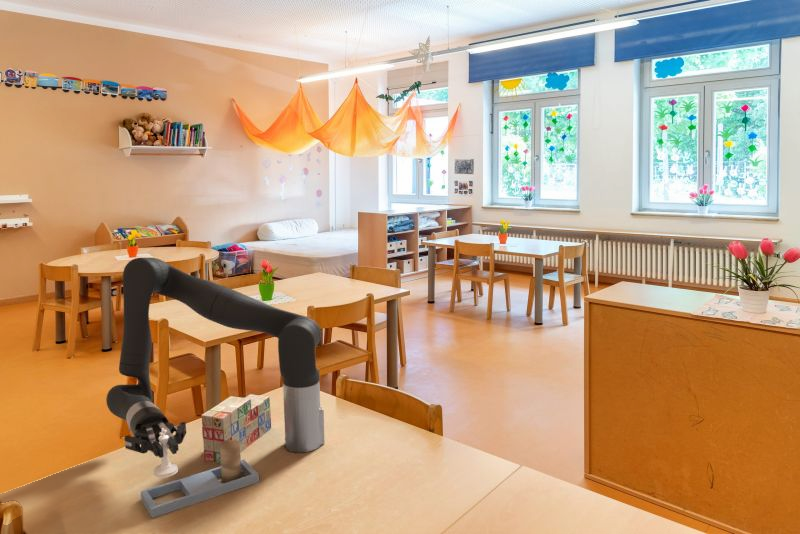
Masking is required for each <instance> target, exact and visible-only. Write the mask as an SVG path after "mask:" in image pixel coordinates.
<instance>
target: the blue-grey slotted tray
mask: <svg viewBox="0 0 800 534" xmlns="http://www.w3.org/2000/svg"><path fill="white" fill-rule="evenodd" d="M241 473H243V474H244V475H245V476H242V478H239V479H236V480H233V481H230V482H227V483H224V484H222V481H220V480H219V477H222V474H221V466H218V467H215V468H211V469H208V470H205V471H202V472H199V473H195V474H192V475H190V476H189V475H188V476H186V477H185V476H184V477H182V478H179V479H176V480H173V481H169V482H167V483H163V484H160V485H157V486H153V487H150V488H146V489H144V490H140V499H141V502H142V503H143V505H144V507H145V508H146V510H147V513H148V514H149V516H150V517H151V519H154V518H156V517H159V516H162V515H165V514H168V513H170V512H171V513H172V512H174V511H177V510H180V509H183V508H186V507H188V506H191V505H195V504H198V503H201V502H204V501H208V500H210V499H212V498H215V497H219V496H222V495H224V494H228V493H230V492H233V491H236V490H238V489H242V488H246V487H249V486H251V485H255V484H257V483H259V482H260V481H259V480H260V479H259V478H260V477H259V476H260V475H259V472H258V471H256V469H254V468H253V467H252V466H251V465H250V464H249V463H248V461H247V460H246V459H241ZM178 490H181V491H182V493H183V494H184V495H185V496H181V497H178V498H175V499H173V500H170V501H166V502H163V503H160V504H157V505H156V502H155V501H154V500H153V499H154V498H156V497H160V496H163V495H166V494H170V493H172V492H175V491H176V492H177V491H178Z"/></svg>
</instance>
